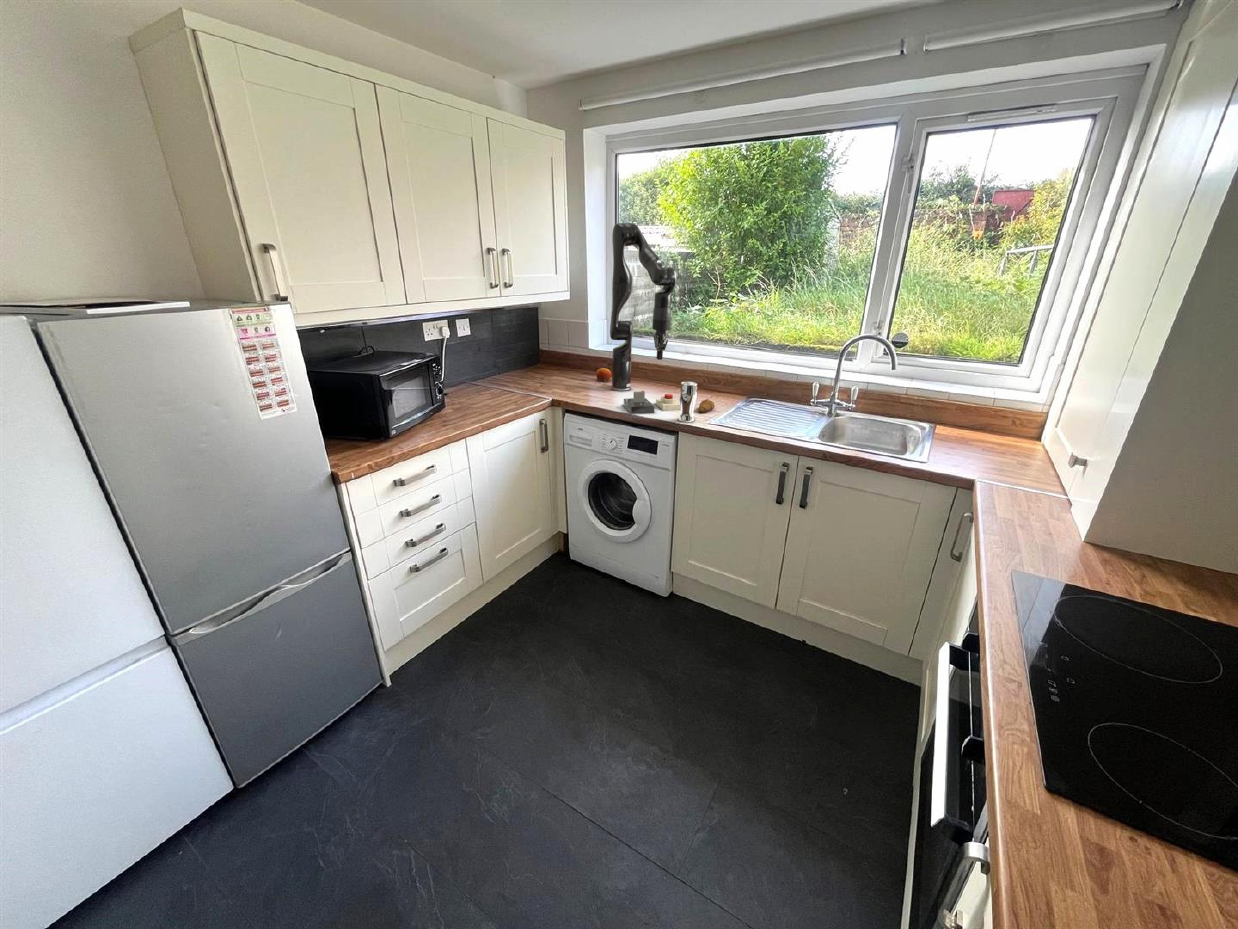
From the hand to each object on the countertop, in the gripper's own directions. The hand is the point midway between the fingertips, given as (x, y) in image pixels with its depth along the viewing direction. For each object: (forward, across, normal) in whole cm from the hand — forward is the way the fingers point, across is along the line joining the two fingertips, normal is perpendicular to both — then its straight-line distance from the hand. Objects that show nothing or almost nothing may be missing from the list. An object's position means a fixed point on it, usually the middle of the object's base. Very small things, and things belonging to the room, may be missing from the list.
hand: (659, 359), depth 216 cm
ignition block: (+20, +5, +3) cm, 21 cm away
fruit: (+21, -51, -14) cm, 57 cm away
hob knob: (+17, +7, -11) cm, 21 cm away
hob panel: (+20, +7, -11) cm, 24 cm away
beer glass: (+20, +26, +4) cm, 33 cm away
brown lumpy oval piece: (+20, +14, +18) cm, 30 cm away
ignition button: (+16, +5, +3) cm, 17 cm away
